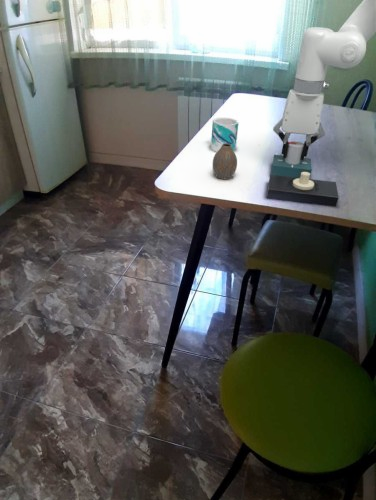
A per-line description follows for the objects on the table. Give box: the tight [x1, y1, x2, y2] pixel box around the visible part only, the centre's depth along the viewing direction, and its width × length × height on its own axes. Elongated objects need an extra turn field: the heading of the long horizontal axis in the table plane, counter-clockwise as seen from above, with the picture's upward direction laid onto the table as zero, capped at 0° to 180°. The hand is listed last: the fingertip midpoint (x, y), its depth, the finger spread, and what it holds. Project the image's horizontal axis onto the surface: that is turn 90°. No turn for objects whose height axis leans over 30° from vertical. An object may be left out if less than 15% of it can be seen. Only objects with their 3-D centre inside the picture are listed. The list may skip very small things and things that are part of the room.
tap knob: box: [285, 141, 304, 165], centre depth 119 cm, size 4×4×5 cm
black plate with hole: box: [266, 174, 339, 207], centre depth 111 cm, size 18×10×2 cm, turn 79°
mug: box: [210, 116, 239, 153], centre depth 134 cm, size 8×12×8 cm
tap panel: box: [270, 154, 313, 179], centre depth 121 cm, size 11×9×3 cm
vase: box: [212, 143, 238, 180], centre depth 115 cm, size 7×7×9 cm
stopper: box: [293, 172, 314, 190], centre depth 109 cm, size 6×6×5 cm
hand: (293, 157), depth 120 cm, fingers closed on tap knob, 4 cm apart
